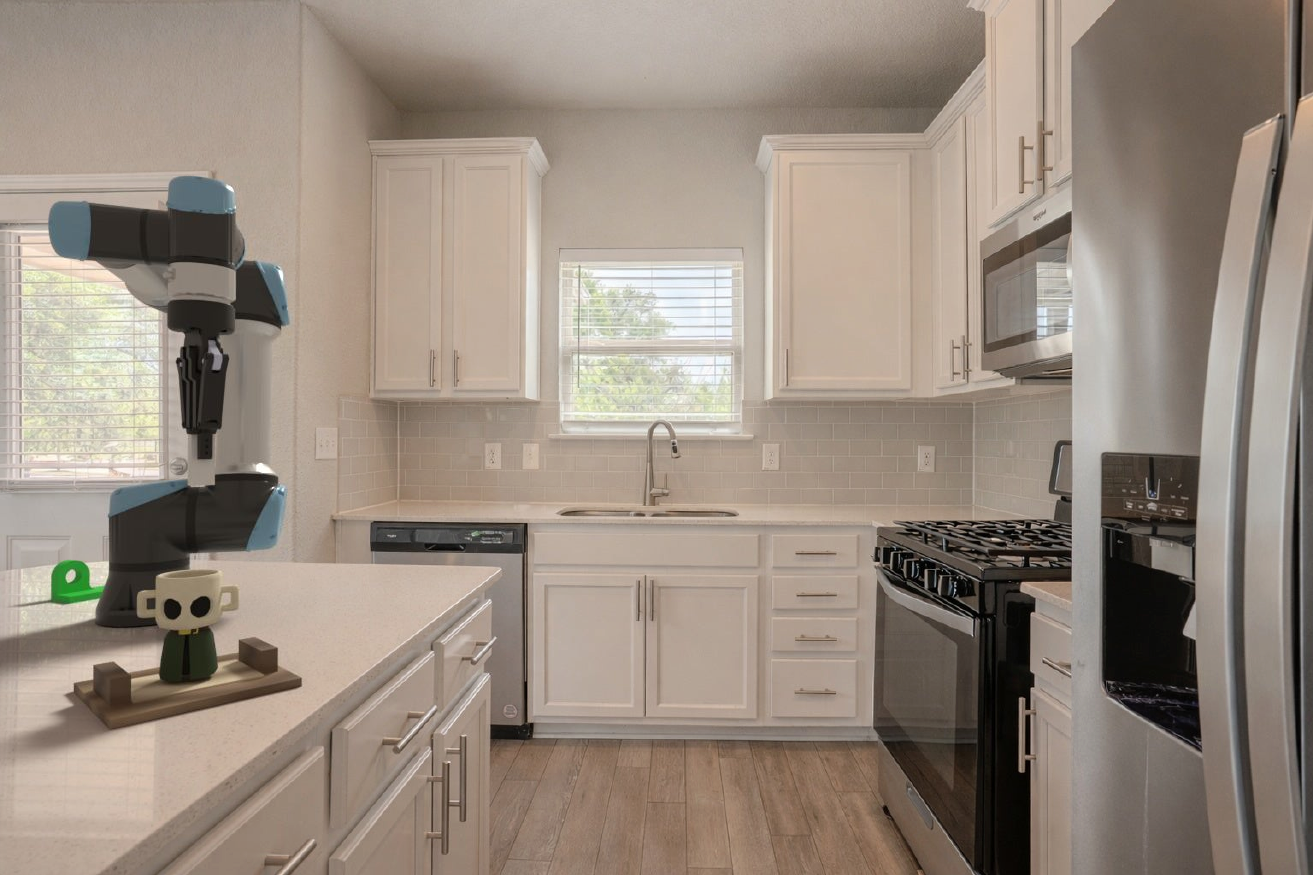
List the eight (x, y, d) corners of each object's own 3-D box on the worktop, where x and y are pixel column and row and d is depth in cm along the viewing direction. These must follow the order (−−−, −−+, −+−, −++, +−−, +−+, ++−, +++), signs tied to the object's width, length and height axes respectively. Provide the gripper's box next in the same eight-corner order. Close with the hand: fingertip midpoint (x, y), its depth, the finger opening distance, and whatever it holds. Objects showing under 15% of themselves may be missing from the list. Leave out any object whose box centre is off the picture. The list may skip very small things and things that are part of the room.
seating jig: (73, 690, 94) (73, 658, 94) (248, 657, 108) (248, 629, 108) (110, 729, 82) (110, 691, 82) (301, 685, 96) (302, 653, 96)
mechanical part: (70, 607, 141) (70, 564, 141) (50, 604, 143) (51, 561, 143) (137, 595, 152) (137, 555, 152) (118, 593, 154) (118, 553, 154)
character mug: (130, 692, 90) (131, 581, 90) (141, 675, 96) (142, 572, 96) (237, 680, 94) (237, 574, 94) (240, 665, 101) (241, 566, 101)
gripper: (153, 303, 100) (153, 483, 101) (184, 292, 91) (183, 489, 92) (217, 310, 106) (216, 480, 106) (251, 300, 97) (250, 486, 97)
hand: (201, 484), depth 99 cm, fingers closed
